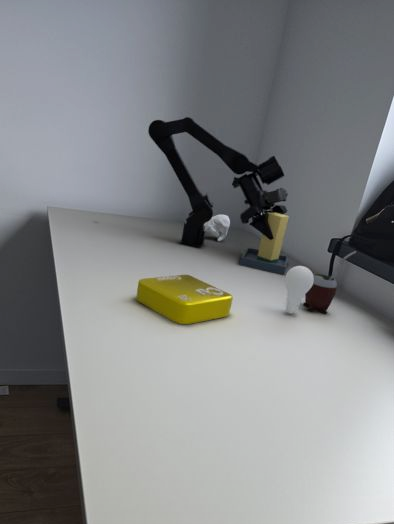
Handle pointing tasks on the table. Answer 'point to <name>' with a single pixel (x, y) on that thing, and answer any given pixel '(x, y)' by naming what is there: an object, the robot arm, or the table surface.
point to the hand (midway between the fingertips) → (276, 238)
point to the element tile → (184, 298)
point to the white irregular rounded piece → (218, 226)
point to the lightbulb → (297, 286)
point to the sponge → (272, 248)
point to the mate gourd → (322, 290)
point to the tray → (251, 261)
